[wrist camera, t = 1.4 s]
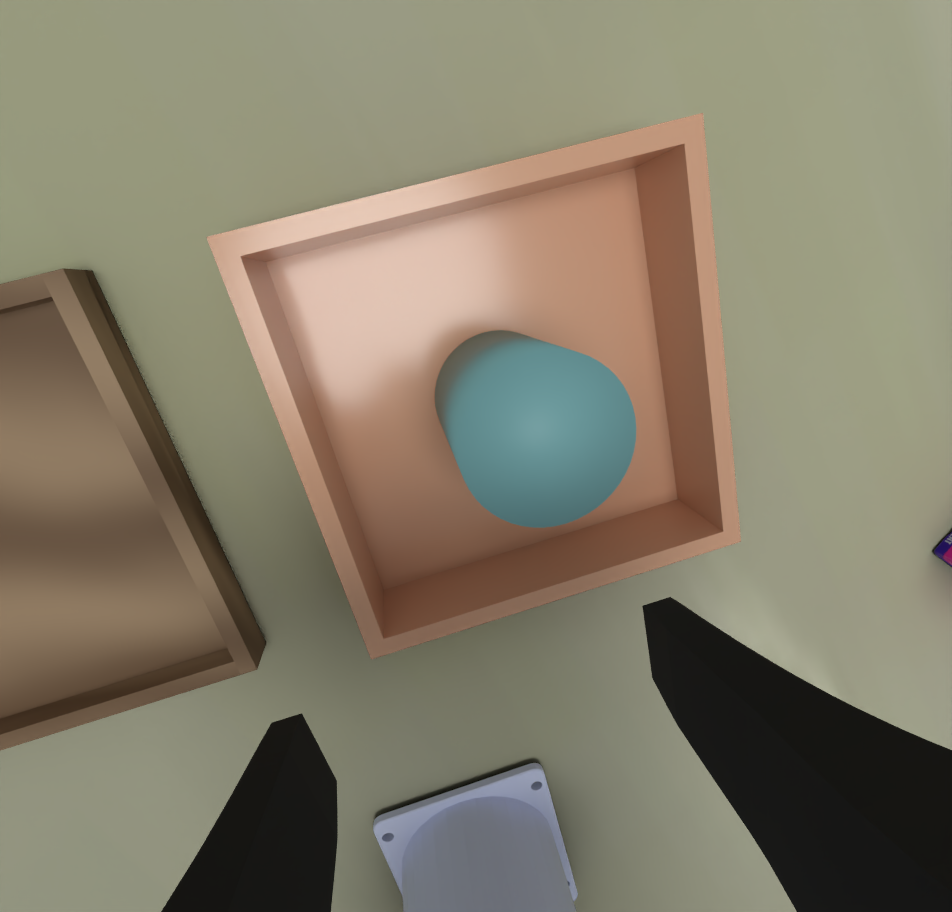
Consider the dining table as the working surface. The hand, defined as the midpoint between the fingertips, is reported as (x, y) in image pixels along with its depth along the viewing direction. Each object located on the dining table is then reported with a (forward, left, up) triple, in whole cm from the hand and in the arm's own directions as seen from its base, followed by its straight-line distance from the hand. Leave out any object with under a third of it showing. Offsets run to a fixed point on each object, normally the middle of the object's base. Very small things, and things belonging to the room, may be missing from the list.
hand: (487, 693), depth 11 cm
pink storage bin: (+4, -3, -10) cm, 11 cm away
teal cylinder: (+4, -3, -9) cm, 10 cm away
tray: (+4, +15, -10) cm, 18 cm away
